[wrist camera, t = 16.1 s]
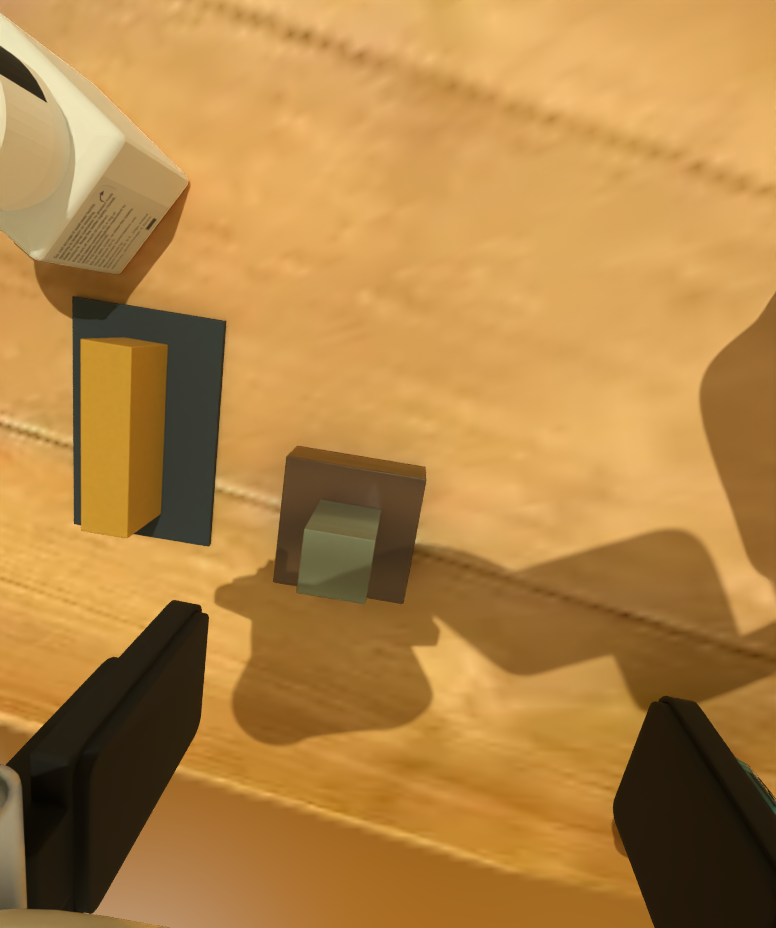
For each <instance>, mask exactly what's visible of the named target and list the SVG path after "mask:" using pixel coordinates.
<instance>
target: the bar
mask: <svg viewBox="0 0 776 928" xmlns="http://www.w3.org/2000/svg"><path fill="white" fill-rule="evenodd" d="M167 354H168V345H167V344H161V343H155V342H149V341H143V340H137V339H131V338H125V337H120V338H88V339H81V531H85V532H91V533H97V534H103V535H109V536H115V537H121V538H128V537H130V536H131V535H133V534H134V533H135V532H137V531H138V530H139V529H141V528H142V527H143V526H145V525H146V524H148V523H149V522H150V521H152V520H153V519H154V518H156V517H157V516H159V515H160V514H161V501H162V476H163V452H164V427H165V403H166V378H167Z"/></svg>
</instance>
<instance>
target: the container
mask: <svg viewBox="0 0 776 928" xmlns="http://www.w3.org/2000/svg"><path fill="white" fill-rule="evenodd" d="M188 183H189V181H188V177H187V176H186V174H185V173H184V172H183V171H182V170H181V169H180V168H179V167H178V166H177V165H176V164H175V163H174V162H173V161H172V160H171V159H170V158H169V157H168V156H166V155H165V154H164V153H163V152H162V151H161V150H160V149H159V148H158V147H157V146H156V145H155V144H154V143H153V142H152V141H151V140H150V139H149V138H148V137H147V136H146V135H145V134H144V133H143V132H142V131H141V130H140V129H139V128H138V127H137V126H136V125H135V124H134V123H133V122H132V121H131V120H130V119H129V118H128V117H127V116H126V115H125V114H124V113H123V112H122V111H121V110H120V109H119V108H118V107H117V106H116V105H115V104H114V103H113V102H112V101H111V100H110V99H109V98H108V97H107V96H106V95H105V94H104V93H103V92H102V91H101V90H100V89H99V88H98V87H97V86H96V85H95V84H94V83H92V82H91V81H90V80H88V79H87V78H86V77H84V76H83V75H82V74H80V73H79V72H78V71H76V70H75V69H74V68H73V67H71V66H70V65H69V64H67V63H66V62H65V61H63V60H62V59H61V58H59V57H58V56H57V55H55V54H54V53H53V52H51V51H50V50H49V49H48V48H46V47H45V46H44V45H42V44H41V43H40V42H38V41H37V40H36V39H34V38H33V37H32V36H30V35H29V34H28V33H26V32H25V31H24V30H23V29H21V28H20V27H19V26H17V25H16V24H15V23H13V22H12V21H11V20H9V19H8V18H7V17H5V16H4V15H3V14H1V13H0V230H2V231H3V232H4V233H5V234H6V235H7V236H8V237H9V238H10V239H11V240H13V241H14V242H15V243H16V244H17V245H18V246H19V247H20V248H21V249H23V250H24V251H25V252H26V253H27V254H28V255H29V256H30V257H32V258H33V259H35V260H37V261H42V262H48V263H54V264H59V265H65V266H71V267H76V268H82V269H87V270H93V271H99V272H104V273H110V274H120V273H121V272H122V271H123V270H124V268H125V267H126V266H127V264H128V263H129V262H130V260H131V259H132V258H133V256H134V255H135V254H136V253H137V251H138V250H139V249H140V247H141V246H142V245H143V243H144V242H145V241H146V239H147V238H148V237H149V235H150V234H151V233H152V231H153V230H154V229H155V227H156V226H157V225H158V223H159V222H160V221H161V220H162V218H163V217H164V216H165V214H166V213H167V212H168V210H169V209H170V208H171V206H172V205H173V204H174V202H175V201H176V200H177V198H178V197H179V196H180V194H181V193H182V192H183V190H184V189H185V188H186V187H187V185H188Z"/></svg>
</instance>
